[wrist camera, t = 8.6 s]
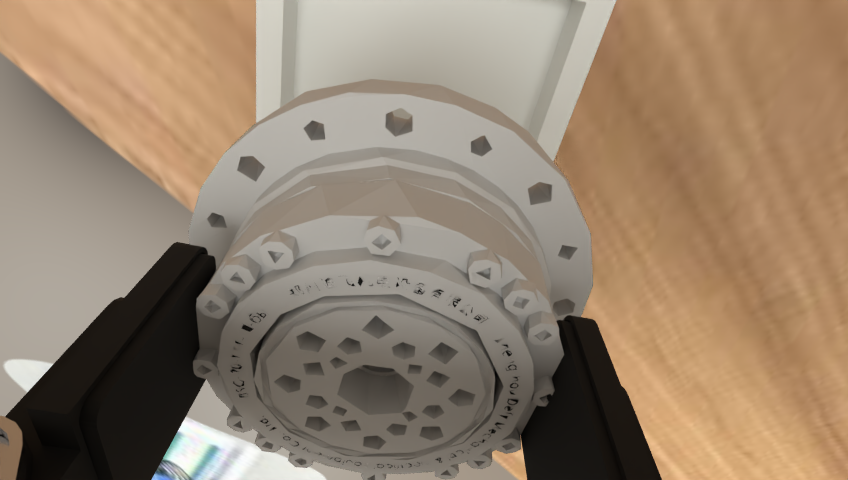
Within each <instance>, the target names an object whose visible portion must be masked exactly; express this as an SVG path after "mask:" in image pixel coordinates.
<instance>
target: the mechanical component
mask: <svg viewBox="0 0 848 480" xmlns="http://www.w3.org/2000/svg"><path fill="white" fill-rule="evenodd" d="M398 108H402V109H404V110H405V111H407V112H408V113H410V114H411V115H412V116H411V117H410V118H409V119H404V118H400V117H395V116H394V115H393V112H392V111H394V110H396V109H398ZM482 135H484V136H482ZM189 244H190V245H196V246H201V247H205V248H206V249H207V251H208V255H211V256H214V257H215V260H216V271H215V273H214V275H213V276H212V278H211V280H210V281H209V283H208V284H207V286H206V288H205V289H204V290H203V292H202V293H201V294H200V295H199V297H198V298H197V303H196V312H197V324H198V335H199V346H200V349H199V351H198V352H197V354H196V356H195V358H194V360H193V370H194V374H195V375H196V376H197V377H201V378H204V379H207V381H208V382H209V384H210V386H211V387H212V389H213V391H214V392H215V394H216V396H217V397H218V398H219V399H220V400H221V401H222V402H223V403H225V404H226V406H227V407H228V408H229V409H231V411H230V414H229V416H228V418H227V426H229V427H230V428H232V429H233V430H235V431H238V432H246V431H250V430H252V429H254V430H256V431H257V432H258V434H257V437H256V440H255V444H256V445H257V446H258V447H259V448H260V449H261V450H262V451H266V452H276V451H278V450H279V449H280V448H281V447H283V448H285V449H287V450H288V451H290V454H289V459H288V461H289V462H290V463H292V464H293V465H294V466H295V467H302V468H307V467H309V466H311V465H312V464H313V461H316V462H318V463H321V464H324V465H327V466H331V467H336V468H341V469H346V470H351V471H355V472H360V473H362V475H361V476H362V478H363V480H385V479H386V474H387V473H388V474H391V473H392V474H407V473H422V472H433V471H435V476H436V477H439V478H442V479H451V478H455V476H456V475H457V474H458V472H459V469H458V464H461V463H464V462H467V464H468V465H469V466H470V467H472V468H477V469H483V468H486V467H488V466H490V465H491V462H492V451H495V450H497V451H500V452H503V453H506V454H507V453H513V452H516V451H518V450H520V449H521V438H520V435H521V433H522V432H523V430H524V428H525V426H526V424H527V422H528V420H529V419H530V417H531V415H532V413H533V411H534V409H535V408H536V406H537V405H538V406H545V407H546V405H547V404H548V400H547V395H548V394H551V395H553V393H554V391H555V389H554V385H553V381H552V376H553V374H554V373H555V371H556V369H557V367H558V365H559V363H560V361H561V359H562V358H563V356H564V351H563V348H562V344H561V340H560V336H559V327H558V324H557V322H556V321H557V320H563V319H564V318H565V317H566V316H567V315H572V316H577V317H581V315H582V312H583V310H584V307H585V305H586V302H587V300H588V297H589V294H590V292H591V289H592V287H593V273H592V249H591V233H590V231H589V228H588V226H587V224H586V221H585V219H584V216H583V214H582V212H581V209H580V207H579V205H578V202H577V200H576V197H575V195H574V193H573V190H572V188H571V185H570V183H569V181H568V179H567V178H566V177H565V176H564V174H563V173H562V172H561V171H560V169H559V168H558V167H557V166H556V165H555V163H554V162H553V161H552V160H551V158H550V157H549V156H548V155H547V154H546V152H545V151H544V150H543V149H542V147H541V146H540V145H539V144H538V143H537V141H536V140H535V139H534V138H533V136H532V135H531V134H530V133H529V132H528V131H527V130H526V129H524V128H523V127H521V126H520V125H519V124H517V123H516V122H515V121H513V120H512V119H510V118H509V117H508V116H506V115H505V114H504V113H502V112H501V111H499V110H498V109H497V108H495V107H493V106H490V105H488V104H485V103H483V102H480V101H478V100H475V99H473V98H471V97H468V96H466V95H463V94H461V93H458V92H456V91H453V90H451V89H449V88H446V87H444V86H441V85H434V84H423V83H412V82H400V81H389V80H378V79H369V80H363V81H358V82H353V83H348V84H342V85H337V86H332V87H326V88H321V89H316V90H311V91H305V92H304V93H302V94H301V95H299V96H298V97H296V98H295V99H293V100H291V101H290V102H288V103H287V104H285V105H284V106H282V107H281V108H279V109H278V110H276V111H274V112H273V113H271V114H270V115H268V116H267V117H265V118H264V119H262V120H260V121H259V122H257V123H256V124H254V125H253V126H252V127H251V128H250V129H249V130H248V131H246V132H245V133H244V134H243V135H242V136H241V137H240V138H239V139H238V140H237V141H236V142H235V143H234V144H233V145H232V146H231V147H230V148H229V149H228V150H227V151H226V152H225V153H224V155H223V156H222V157H221V159H220V160H219V162H218V163H217V165H216V166H215V168H214V169H213V171H212V172H211V174H210V175H209V177H208V178H207V180H206V181H205V183H204V184H203V186H202V187H201V189H200V193H199V196H198V200H197V203H196V206H195V210H194V213H193V217H192V220H191V224H190V227H189Z"/></svg>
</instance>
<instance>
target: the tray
mask: <svg viewBox="0 0 848 480" xmlns="http://www.w3.org/2000/svg"><path fill="white" fill-rule="evenodd" d="M615 3H616V0H256V123H257V122H259V121H260V120H262V119H264V118H265V117H267V116H268V115H270V114H271V113H273V112H274V111H276V110H278V109H279V108H281V107H282V106H284V105H285V104H287V103H288V102H290V101H291V100H293V99H295V98H296V97H298V96H299V95H301V94H302V93H304V92H305V91H311V90H316V89H321V88H326V87H332V86H337V85H342V84H348V83H353V82H358V81H363V80H369V79H378V80H389V81H400V82H412V83H423V84H434V85H441V86H444V87H446V88H449V89H451V90H453V91H456V92H458V93H461V94H463V95H466V96H468V97H471V98H473V99H475V100H478V101H480V102H483V103H485V104H488V105H490V106H493V107H495V108H497V109H498V110H499V111H501V112H502V113H504V114H505V115H506V116H508V117H509V118H510V119H512V120H513V121H515V122H516V123H517V124H519V125H520V126H521V127H523V128H524V129H526V130H527V131H528V132H529V133H530V134H531V135H532V136H533V138H534V139H535V140H536V141H537V143H538V144H539V145H540V146H541V147H542V149H543V150H544V151H545V152H546V154H547V155H548V156H549V157H550V158H551V160H552V161H554V159H555V156H556V154H557V151H558V149H559V146H560V144H561V141H562V138H563V136H564V133H565V131H566V128H567V126H568V123H569V120H570V118H571V115H572V113H573V110H574V108H575V105H576V102H577V100H578V97H579V95H580V92H581V90H582V87H583V85H584V82H585V79H586V77H587V74H588V72H589V69H590V67H591V64H592V61H593V59H594V56H595V54H596V51H597V49H598V46H599V44H600V41H601V38H602V36H603V33H604V31H605V28H606V26H607V23H608V20H609V18H610V15H611V13H612V10H613V8H614V5H615ZM392 112H393V115H394V116H395V117H400V118H404V119H409V118H410V117H411V116H412V115H411V114H410V113H408V112H407V111H405V110H404V109H402V108H398V109H396V110H394V111H392ZM482 136H484V135H482Z"/></svg>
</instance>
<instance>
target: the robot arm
mask: <svg viewBox="0 0 848 480" xmlns="http://www.w3.org/2000/svg"><path fill="white" fill-rule="evenodd" d="M215 271H216V260H215V257H214V256H211V255H208V251H207V249H206V248H205V247H201V246H196V245H190V244H185V243H179V242H176V243H174V244H173V245H172V246H171V247H170V248H169V249H168V250H167V251H166V252H165V253H164V255H162V257H161V258H160V259H159V260H158V261H157V262H156V263H155V264H154V266H153V267H152V268H151V269H150V270H149V271H148V272H147V273H146V275H145V276H144V277H143V278H142V279H141V280H140V281H139V282H138V283H137V284H136V286H135V287H134V288H133V289H132V290H131V291H130V292H129V293H128V295H127V296H126V297H125V298H122V297H121V298H118V299H116V300H114V301H113V302H111V303H110V304H109V305H108V306H107V307H106V308H105V309H104V310H103V311H102V312H101V313H100V315H99V316H98V317H97V318H96V319H95V320H94V321H93V322H92V323H91V324H90V325H89V327H88V328H87V329H86V330H85V331H84V332H83V333H82V334H81V335H80V336H79V338H77V340H76V341H75V342H74V343H73V344H72V345H71V346H70V347H69V348H68V349H67V350H66V351H65V352H64V354H63V355H62V356H61V357H60V358H59V359H58V360H57V361H56V362H55V363H54V364H53V365H52V367H51V368H50V369H49V370H48V371H47V372H46V373H45V374H44V375H43V376H42V377H41V378H40V380H39V381H38V382H37V383H36V384H35V385H34V386H33V387H32V388H31V389H30V390H29V391H28V393H27V394H26V395H25V396H24V397H23V398H22V399H21V400H20V402H18V403H17V405H16V406H15V407H14V408H13V409H12V410H11V411H10V412H9V413H8V414H7V415H6V416H5V417H4V416H0V480H151V479H152V477H153V475H154V474H155V472H156V470H157V468H158V466H159V464H160V463H161V461H162V459H163V457H164V455H165V453H166V452H167V450H168V448H169V446H170V444H171V442H172V441H173V439H174V437H175V435H176V433H177V431H178V430H179V428H180V426H181V424H182V422H183V420H184V419H185V417H186V415H187V413H188V411H189V409H190V407H191V406H192V404H193V402H194V400H195V398H196V396H197V395H198V393H199V391H200V389H201V387H202V386H203V383H204V382H205V380H206V379H204V378H201V377H197V376H196V375H195V374H194V370H193V360H194V358H195V356H196V354H197V352H198V351H199V349H200V346H199V335H198V324H197V312H196V303H197V298H198V297H199V295H200V294H201V293H202V292H203V290H204V289H205V288H206V286H207V284H208V283H209V281H210V280H211V278H212V276H213V275H214V273H215ZM556 322H557V324H558V327H559V336H560V340H561V344H562V348H563V351H564V356H563V358H562V359H561V361H560V363H559V365H558V367H557V369H556V371H555V373H554V374H553V376H552V381H553V385H554V389H555V391H554V393H553V395H551V394H548V395H547V400H548V404H547V405H546V407H545V406H538V405H537V406H536V408H535V409H534V411H533V413H532V415H531V417H530V419H529V420H528V422H527V424H526V426H525V428H524V430H523V432H522V433H521V440H522V447H523V454H524V460H525V467H526V474H527V480H662V479H661V476H660V474H659V471H658V469H657V466H656V464H655V461H654V459H653V456H652V454H651V451H650V449H649V446H648V444H647V441H646V439H645V436H644V434H643V431H642V429H641V426H640V424H639V421H638V419H637V416H636V414H635V411H634V409H633V406H632V404H631V401H630V398H629V396H628V394H627V392H626V390H625V389H624V388H623V387H622V386H621V384H620V382H619V379H618V377H617V374H616V371H615V369H614V366H613V364H612V361H611V359H610V356H609V354H608V351H607V348H606V346H605V343H604V341H603V338H602V336H601V333H600V331H599V328H598V325H597V323H596V322H595V321H594V320H593V319H588V318H582V317H577V316H572V315H567V316H566V317H565V318H564V319H563V320H557V321H556Z"/></svg>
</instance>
